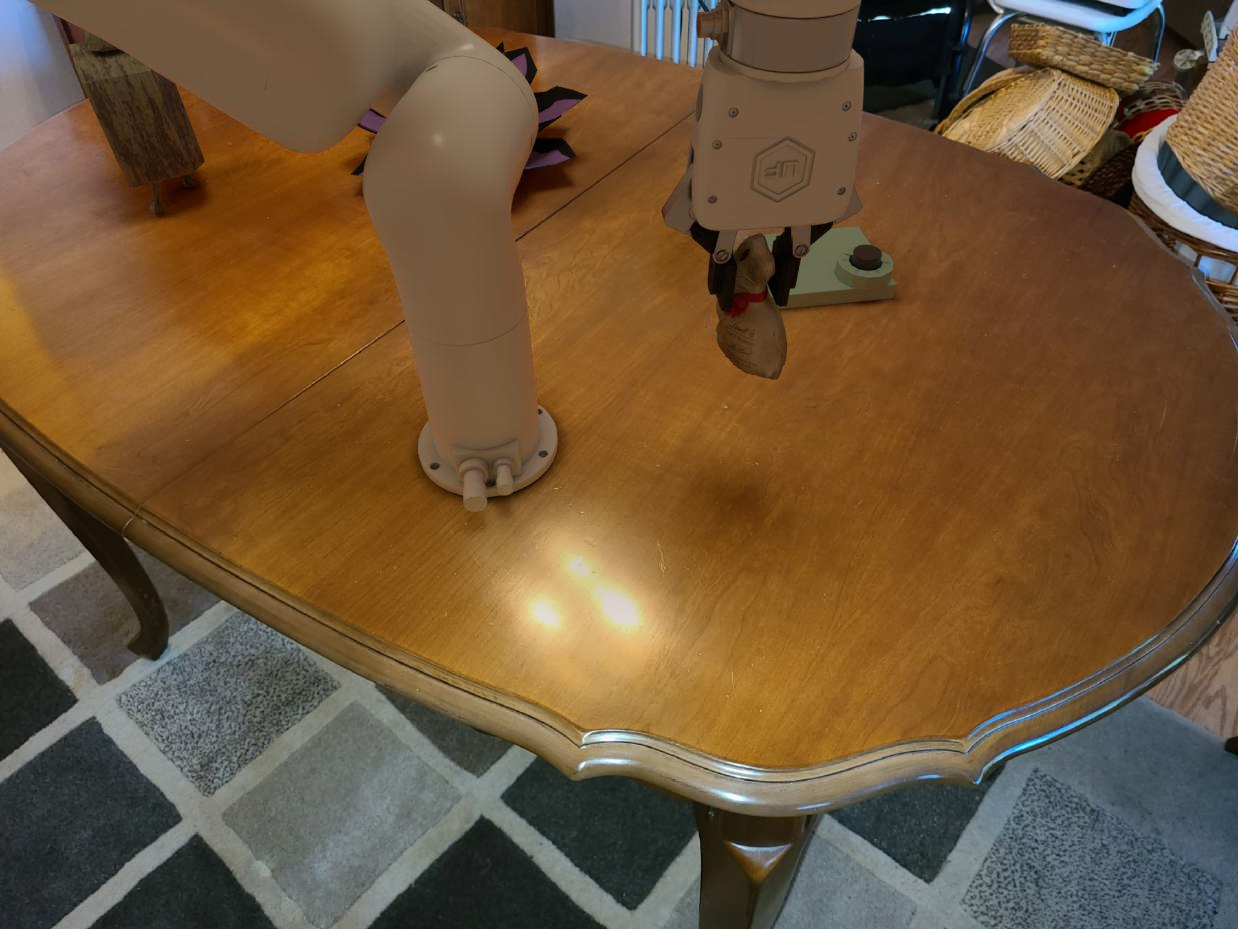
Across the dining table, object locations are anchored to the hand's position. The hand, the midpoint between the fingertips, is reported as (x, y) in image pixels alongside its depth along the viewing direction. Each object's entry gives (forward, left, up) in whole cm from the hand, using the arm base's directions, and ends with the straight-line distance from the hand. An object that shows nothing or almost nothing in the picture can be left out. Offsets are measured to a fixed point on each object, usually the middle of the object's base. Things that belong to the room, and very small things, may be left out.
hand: (749, 295), depth 61 cm
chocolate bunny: (0, 0, -5) cm, 5 cm away
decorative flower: (+61, +21, -19) cm, 67 cm away
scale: (+28, -17, -19) cm, 38 cm away
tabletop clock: (+59, +59, -19) cm, 86 cm away
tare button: (+25, -21, -16) cm, 36 cm away
